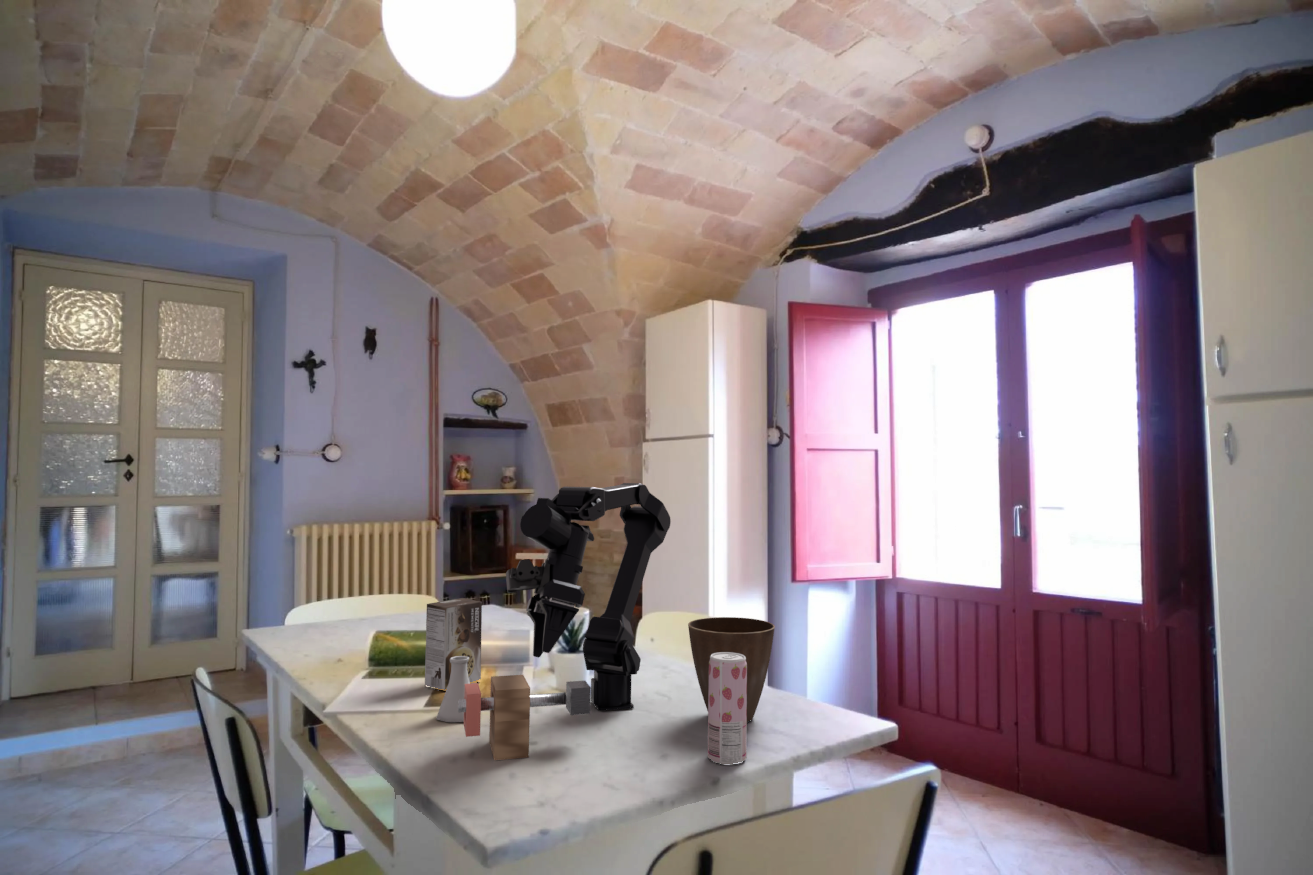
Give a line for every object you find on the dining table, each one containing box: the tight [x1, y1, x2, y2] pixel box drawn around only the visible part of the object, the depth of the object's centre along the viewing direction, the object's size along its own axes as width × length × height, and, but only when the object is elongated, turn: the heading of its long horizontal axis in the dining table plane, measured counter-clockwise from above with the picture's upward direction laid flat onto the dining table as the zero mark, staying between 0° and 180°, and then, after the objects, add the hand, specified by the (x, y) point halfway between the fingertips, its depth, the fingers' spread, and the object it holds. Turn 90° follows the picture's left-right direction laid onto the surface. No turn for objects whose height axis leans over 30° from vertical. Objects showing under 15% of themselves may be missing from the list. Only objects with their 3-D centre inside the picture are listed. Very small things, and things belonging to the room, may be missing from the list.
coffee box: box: [424, 597, 483, 690], centre depth 153 cm, size 9×6×16 cm
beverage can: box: [707, 652, 748, 764], centre depth 115 cm, size 6×6×15 cm
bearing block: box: [488, 674, 531, 761], centre depth 117 cm, size 5×8×10 cm, turn 17°
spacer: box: [463, 682, 482, 738], centre depth 116 cm, size 2×6×6 cm, turn 17°
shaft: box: [458, 680, 591, 716], centre depth 118 cm, size 20×4×4 cm, turn 107°
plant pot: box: [687, 616, 776, 723], centre depth 135 cm, size 15×15×16 cm
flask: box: [435, 656, 470, 723], centre depth 133 cm, size 7×7×10 cm
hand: (540, 654), depth 121 cm, fingers open, 9 cm apart
